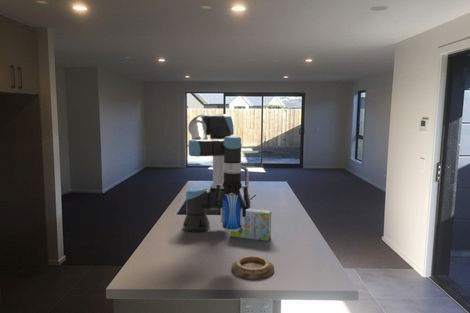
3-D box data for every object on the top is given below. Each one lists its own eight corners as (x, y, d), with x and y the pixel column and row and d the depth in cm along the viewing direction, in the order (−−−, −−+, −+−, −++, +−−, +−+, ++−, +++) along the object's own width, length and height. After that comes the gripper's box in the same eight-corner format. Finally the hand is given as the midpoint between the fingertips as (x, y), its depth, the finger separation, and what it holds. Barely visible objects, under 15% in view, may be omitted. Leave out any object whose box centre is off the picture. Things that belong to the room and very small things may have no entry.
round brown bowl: (226, 276, 144) (226, 268, 143) (237, 258, 161) (237, 251, 160) (270, 282, 139) (270, 274, 139) (276, 263, 156) (276, 256, 156)
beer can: (222, 226, 159) (222, 191, 157) (240, 226, 160) (241, 191, 158) (222, 232, 151) (222, 196, 149) (242, 232, 151) (242, 195, 149)
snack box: (271, 238, 187) (271, 210, 185) (268, 241, 182) (269, 213, 180) (233, 233, 194) (233, 206, 192) (230, 236, 189) (230, 209, 186)
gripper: (206, 172, 151) (206, 223, 154) (254, 174, 146) (253, 227, 148) (212, 169, 159) (212, 218, 161) (258, 172, 153) (257, 222, 156)
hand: (232, 222), depth 155 cm, fingers closed on beer can, 8 cm apart
